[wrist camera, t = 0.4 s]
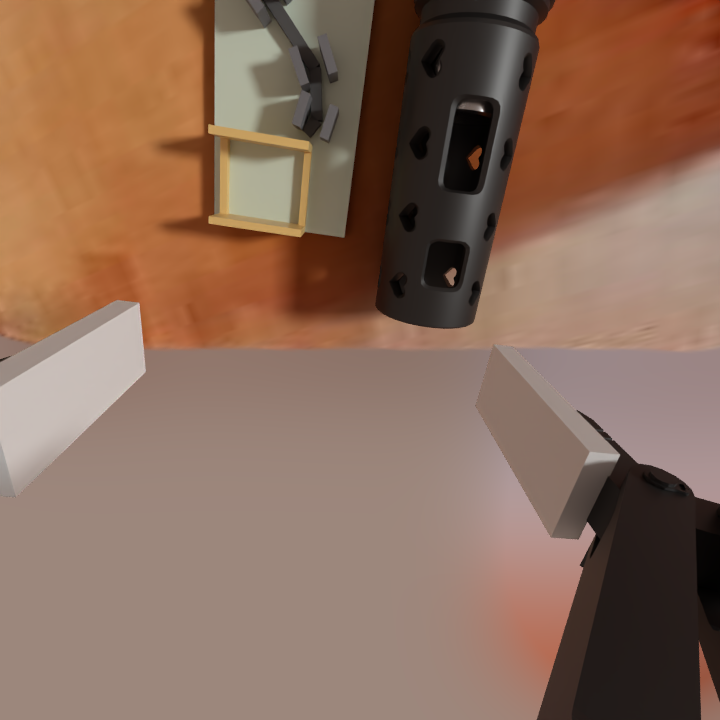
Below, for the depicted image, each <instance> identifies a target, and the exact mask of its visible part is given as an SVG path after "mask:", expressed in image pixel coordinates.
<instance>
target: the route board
mask: <svg viewBox="0 0 720 720" xmlns="http://www.w3.org/2000/svg"><path fill="white" fill-rule="evenodd" d="M279 1H280V3H281V4H282V6H283V7H284V9H285V11H286V12H287V14H288V15H289V17H290V18H291V20H292V21H293V23H294V25H295V26H296V28H297V29H298V31H299V32H300V34H301V35H302V37H303V39H304V40H305V42H306V43H307V45H308V46H309V48H310V50H311V51H312V53H313V54H314V56H315V57H316V59H317V60H318V62H319V64H320V67H321V77H322V114H323V121H319V122H320V123H321V126H320V128H319V129H318V130H317V131H316V132H315V134H314V135H313V136H312V137H311V138H310V137H309V136H308V135H307V134H306V133H305V132H304V131H303V128H304V125H305V124H306V123H307V121H308V120H309V119H310V118H311V102H312V97H311V94H310V89H311V87H310V74H309V70H308V68H307V67H306V65H305V64H304V62H303V61H302V59H301V56H300V53H299V50H298V47H297V45H296V46H294V47H293V46H292V44H291V42H290V41H289V39H288V38H287V36H286V35H285V33H284V32H283V30H282V29H281V27H280V26H279V24H278V23H277V21H276V20H275V18H274V17H273V15H272V13H271V12H270V10H269V9H268V7H267V6H266V4H265V3H264V1H263V0H215V125H216V126H222V127H228V128H233V129H239V130H245V131H251V132H257V133H263V134H269V135H275V136H280V137H286V138H292V139H298V140H304V141H309V142H310V143H311V144H312V145H313V149H312V160H311V171H310V182H309V193H308V205H307V216H306V227H305V232H309V233H316V234H323V235H329V236H336V237H343V238H344V236H345V229H346V221H347V213H348V205H349V197H350V189H351V182H352V174H353V166H354V158H355V150H356V142H357V135H358V127H359V119H360V111H361V103H362V96H363V88H364V80H365V72H366V64H367V56H368V49H369V41H370V33H371V25H372V17H373V9H374V2H375V0H279ZM303 162H304V152H300V151H294V150H288V149H283V148H277V147H271V146H265V145H259V144H253V143H247V142H241V141H235V140H230V178H229V214H235V215H241V216H248V217H255V218H261V219H268V220H274V221H281V222H288V223H294V224H298V222H299V210H300V198H301V186H302V174H303ZM219 213H220V137H217V136H215V155H214V215H215V214H219Z"/></svg>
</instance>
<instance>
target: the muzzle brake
mask: <svg viewBox="0 0 720 720" xmlns="http://www.w3.org/2000/svg"><path fill="white" fill-rule="evenodd" d="M554 2H555V0H414V3H415V11H416V14H417V15H418V16H419V17H420V26H419V27H418V28H417V29H416V30H415V31H414V33H413V35H412V37H411V41H410V48H409V56H408V63H407V74H406V78H405V86H404V93H403V101H402V108H401V116H400V123H399V131H398V138H397V148H396V154H395V161H394V169H393V176H392V184H391V191H390V199H389V206H388V214H387V221H386V229H385V236H384V244H383V251H382V259H381V266H380V275H379V281H378V289H377V296H376V305H375V306H376V308H377V309H378V310H379V311H380V312H381V313H383V314H384V315H386V316H388V317H390V318H393V319H395V320H398V321H401V322H405V323H408V324H412V325H418V326H423V327H431V328H443V329H451V328H461V327H466V326H468V325H470V324H472V323H473V322H474V319H475V315H476V311H477V306H478V302H479V298H480V294H481V290H482V286H483V281H484V277H485V273H486V269H487V265H488V260H489V256H490V252H491V248H492V244H493V240H494V235H495V231H496V227H497V223H498V219H499V214H500V210H501V206H502V202H503V198H504V194H505V189H506V185H507V181H508V177H509V173H510V169H511V164H512V160H513V156H514V152H515V148H516V143H517V139H518V135H519V131H520V127H521V123H522V118H523V114H524V110H525V106H526V102H527V97H528V93H529V89H530V85H531V81H532V77H533V72H534V68H535V64H536V60H537V56H538V52H539V42H538V38H537V36H536V35H535V32H536V27H537V26H538V25H539V24H541V23H542V22H543V21H544V20H545V19H546V17H547V14H548V12H549V11H550V9H551V8H552V7H553V5H554ZM478 148H482V153H481V155H480V157H479V167H478V168H477V169H476V170H474V169H473V167H472V165H471V163H470V161H469V159H468V158H469V157H470V156H471V155H472V154H473V153H474V152H475V151H476V150H477V149H478ZM452 268H455V269H456V271H457V273H456V276H455V277H454V282H455V283H454V285H453V286H452V285H450V283H449V281H448V280H447V278H446V276H445V274H446V273H448V272H449V271H450V270H451V269H452Z"/></svg>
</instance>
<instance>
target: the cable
mask: <svg viewBox="0 0 720 720" xmlns="http://www.w3.org/2000/svg"><path fill="white" fill-rule="evenodd" d="M263 1H264V3H265V4H266V6H267V7H268V9H269V10H270V12H271V13H272V15H273V17H274V18H275V20H276V21H277V23H278V24H279V26H280V27H281V29H282V30H283V32H284V33H285V35H286V36H287V38H288V39H289V41H290V42H291V44H292V46H293V47H294V46H296V45H297V47H298V50H299V53H300V56H301V59H302V61H303V62H304V64H305V65H306V67H307V68H308V70H309V74H310V87H311V89H310V94H311V97H312V102H311V118H310V119H309V120H308V121H307V123H306V124H305V125H304V128H303V131H304V132H305V133H306V134H307V135H308V136H309V137H310V138H311V137H312V136H313V135H314V134H315V132H316V131H317V130H318V129H319V128H320V126H321V123H320V122H319V121H323V114H322V77H321V67H320V64H319V62H318V60H317V59H316V57H315V56H314V54H313V53H312V51H311V50H310V48H309V46H308V45H307V43H306V42H305V40H304V39H303V37H302V35H301V34H300V32H299V31H298V29H297V28H296V26H295V25H294V23H293V21H292V20H291V18H290V17H289V15H288V14H287V12H286V11H285V9H284V7H283V6H282V4H281V3H280V1H279V0H263Z"/></svg>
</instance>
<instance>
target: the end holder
mask: <svg viewBox="0 0 720 720" xmlns="http://www.w3.org/2000/svg"><path fill="white" fill-rule="evenodd" d="M208 133H209V134H212V135H215V136H217V137H220V213H219V214H215V215H210V216H209V224H215V225H222V226H228V227H235V228H242V229H249V230H255V231H262V232H269V233H276V234H282V235H289V236H296V237H301V236H302V235H303V234H304V233H305V227H306V216H307V205H308V193H309V182H310V171H311V160H312V149H313V145H312V144H311V143H310V142H309V141H304V140H298V139H292V138H286V137H280V136H275V135H269V134H263V133H257V132H251V131H245V130H239V129H233V128H228V127H222V126H216V125H210V124H208ZM230 140H235V141H241V142H247V143H253V144H259V145H265V146H271V147H277V148H283V149H288V150H294V151H300V152H304V162H303V174H302V186H301V198H300V210H299V222H298V224H294V223H288V222H281V221H274V220H268V219H261V218H255V217H248V216H241V215H235V214H229V178H230Z"/></svg>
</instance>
